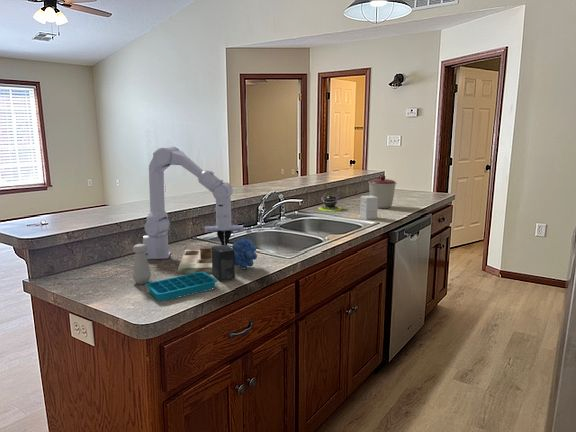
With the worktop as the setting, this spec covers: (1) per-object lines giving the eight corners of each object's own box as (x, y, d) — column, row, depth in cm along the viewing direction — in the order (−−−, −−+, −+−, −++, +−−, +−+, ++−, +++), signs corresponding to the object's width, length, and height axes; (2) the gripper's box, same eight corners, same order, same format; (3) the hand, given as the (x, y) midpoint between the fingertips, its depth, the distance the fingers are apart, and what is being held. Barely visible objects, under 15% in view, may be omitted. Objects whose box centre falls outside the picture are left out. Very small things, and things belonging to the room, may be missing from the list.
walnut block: (200, 258, 160) (200, 248, 159) (201, 255, 164) (200, 245, 163) (211, 258, 161) (210, 248, 160) (211, 255, 165) (211, 245, 164)
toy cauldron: (314, 209, 269) (314, 192, 266) (324, 205, 281) (324, 189, 279) (336, 212, 262) (336, 194, 259) (345, 208, 274) (345, 191, 272)
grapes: (239, 275, 148) (238, 242, 146) (227, 270, 153) (226, 238, 151) (264, 268, 156) (263, 236, 154) (252, 263, 161) (252, 233, 159)
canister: (363, 204, 285) (365, 173, 281) (389, 204, 287) (391, 173, 283) (371, 210, 267) (373, 176, 263) (399, 209, 269) (401, 176, 265)
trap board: (178, 273, 150) (177, 268, 149) (185, 254, 172) (184, 250, 172) (212, 272, 151) (212, 267, 151) (215, 253, 174) (214, 249, 173)
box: (235, 279, 145) (234, 249, 143) (219, 281, 142) (218, 251, 140) (227, 272, 152) (226, 243, 150) (212, 274, 149) (211, 246, 147)
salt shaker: (133, 286, 138) (130, 248, 135) (132, 280, 143) (129, 243, 140) (152, 283, 140) (149, 246, 138) (150, 278, 145) (147, 241, 143)
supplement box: (370, 216, 248) (371, 195, 246) (377, 219, 241) (378, 197, 239) (359, 217, 246) (360, 195, 243) (365, 219, 239) (366, 197, 236)
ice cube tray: (144, 292, 134) (144, 283, 133) (203, 279, 146) (203, 271, 145) (157, 304, 125) (157, 295, 124) (219, 289, 136) (219, 280, 136)
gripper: (203, 217, 156) (205, 253, 158) (243, 216, 157) (243, 251, 160) (204, 214, 162) (206, 248, 165) (242, 213, 164) (243, 246, 167)
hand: (224, 249), depth 163 cm, fingers closed
